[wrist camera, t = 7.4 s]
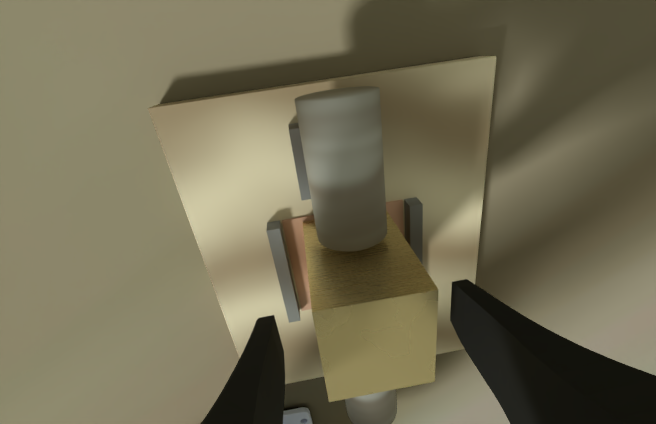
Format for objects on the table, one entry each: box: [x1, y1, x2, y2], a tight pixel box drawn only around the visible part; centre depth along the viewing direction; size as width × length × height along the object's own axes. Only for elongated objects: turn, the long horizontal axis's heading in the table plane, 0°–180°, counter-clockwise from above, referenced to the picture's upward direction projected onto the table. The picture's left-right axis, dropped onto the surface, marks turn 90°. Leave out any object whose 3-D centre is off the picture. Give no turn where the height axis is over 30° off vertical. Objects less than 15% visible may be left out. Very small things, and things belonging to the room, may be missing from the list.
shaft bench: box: [148, 56, 497, 424], centre depth 15 cm, size 17×14×5 cm
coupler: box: [303, 210, 439, 402], centre depth 14 cm, size 4×4×6 cm
